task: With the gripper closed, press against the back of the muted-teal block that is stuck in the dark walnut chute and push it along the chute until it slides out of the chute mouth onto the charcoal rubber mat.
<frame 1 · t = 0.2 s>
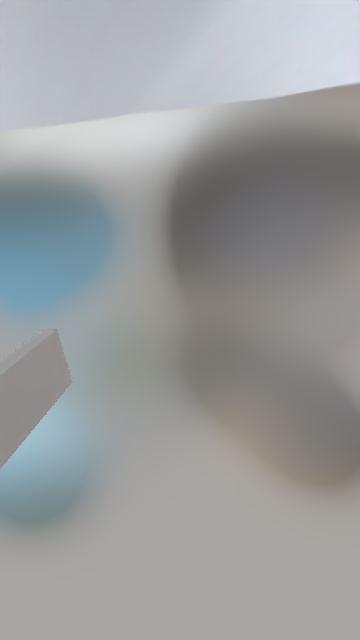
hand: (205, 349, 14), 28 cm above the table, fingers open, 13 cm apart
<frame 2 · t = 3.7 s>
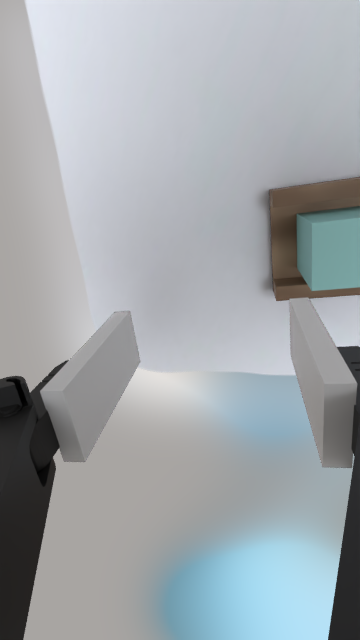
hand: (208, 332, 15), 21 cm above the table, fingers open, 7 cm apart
block: (343, 244, 28), point 5 cm above the table, slide at 0.0 cm
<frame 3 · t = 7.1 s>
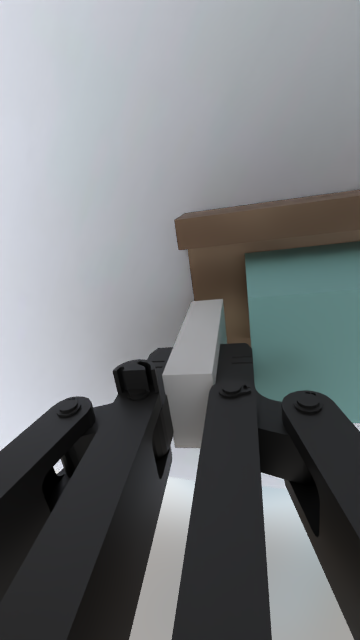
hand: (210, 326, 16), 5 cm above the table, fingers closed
chute: (345, 285, 19), on the table
block: (322, 320, 15), point 5 cm above the table, slide at 0.8 cm, touching gripper
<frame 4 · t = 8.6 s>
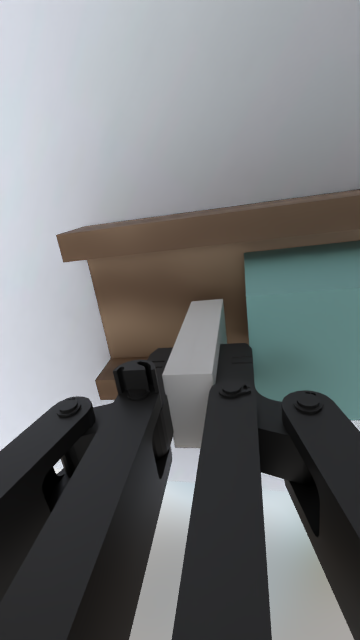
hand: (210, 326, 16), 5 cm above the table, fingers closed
chute: (234, 293, 20), on the table
block: (320, 319, 15), point 5 cm above the table, slide at 6.9 cm, touching gripper
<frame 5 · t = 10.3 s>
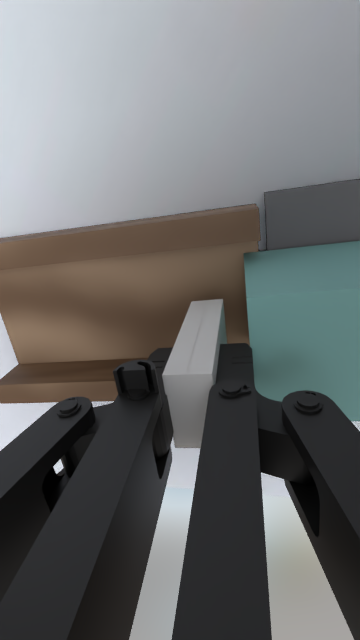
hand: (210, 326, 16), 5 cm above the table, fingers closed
chute: (124, 303, 22), on the table
block: (320, 319, 15), point 5 cm above the table, slide at 13.9 cm, touching gripper
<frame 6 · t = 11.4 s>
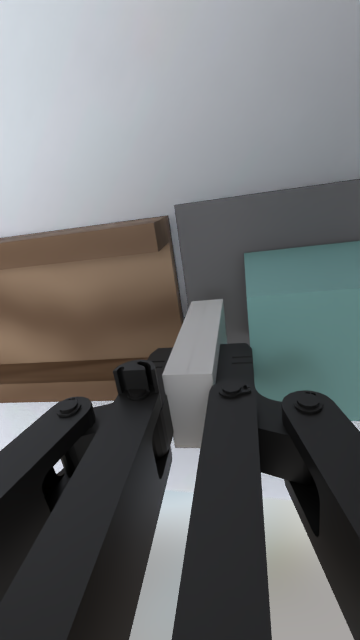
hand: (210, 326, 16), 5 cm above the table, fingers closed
mat: (271, 290, 20), on the table
chute: (57, 308, 23), on the table
block: (321, 319, 15), point 5 cm above the table, slide at 18.8 cm, touching gripper
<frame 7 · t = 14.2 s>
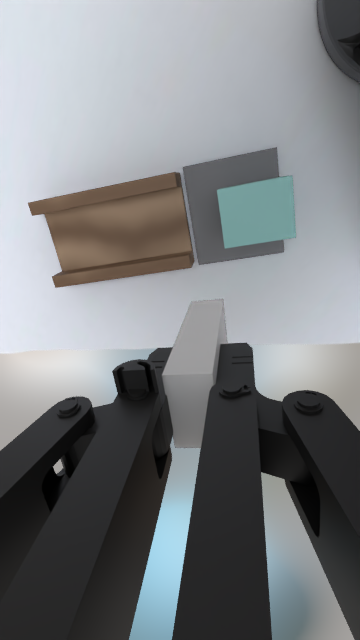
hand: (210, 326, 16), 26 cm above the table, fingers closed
mat: (234, 210, 38), on the table
chute: (119, 231, 41), on the table
block: (254, 210, 33), point 5 cm above the table, slide at 18.9 cm
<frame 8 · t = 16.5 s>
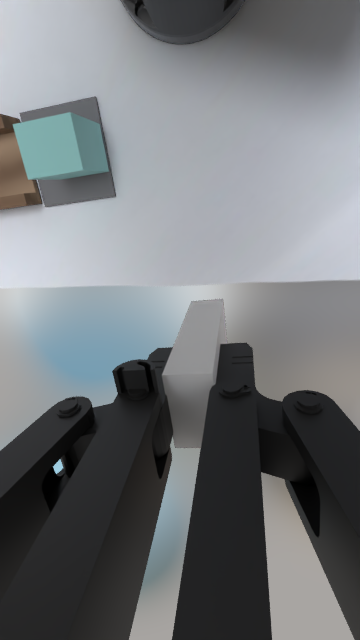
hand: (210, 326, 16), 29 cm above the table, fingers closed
mat: (69, 155, 42), on the table
block: (65, 150, 38), point 5 cm above the table, slide at 18.9 cm
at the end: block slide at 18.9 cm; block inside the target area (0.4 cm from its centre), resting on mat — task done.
